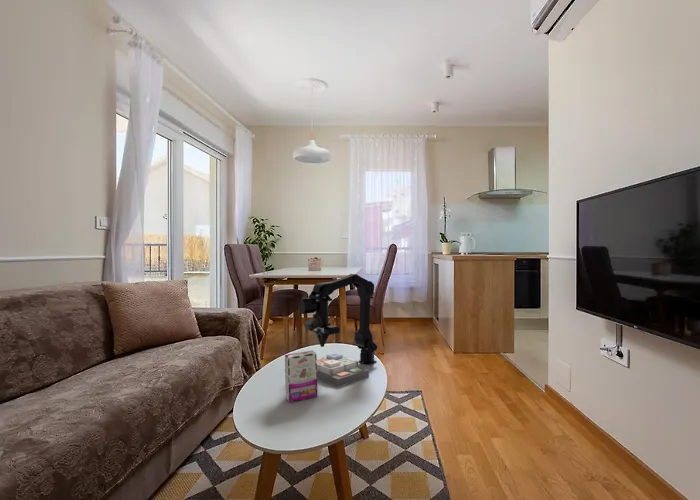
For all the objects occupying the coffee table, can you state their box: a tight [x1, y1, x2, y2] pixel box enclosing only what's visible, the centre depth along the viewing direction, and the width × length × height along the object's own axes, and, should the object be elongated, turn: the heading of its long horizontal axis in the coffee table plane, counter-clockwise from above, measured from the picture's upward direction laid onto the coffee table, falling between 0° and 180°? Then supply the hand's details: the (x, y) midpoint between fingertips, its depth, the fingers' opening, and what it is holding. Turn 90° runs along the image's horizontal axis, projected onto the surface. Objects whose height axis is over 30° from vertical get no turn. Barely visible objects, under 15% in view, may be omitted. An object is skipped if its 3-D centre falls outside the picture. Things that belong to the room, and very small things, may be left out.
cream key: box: [324, 359, 341, 368], centre depth 158 cm, size 5×5×2 cm
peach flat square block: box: [317, 359, 328, 364], centre depth 163 cm, size 5×5×2 cm
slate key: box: [326, 352, 344, 360], centre depth 168 cm, size 5×5×2 cm
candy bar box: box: [284, 350, 318, 403], centre depth 137 cm, size 11×5×16 cm, turn 117°
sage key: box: [339, 359, 353, 364], centre depth 163 cm, size 5×5×2 cm
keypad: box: [317, 356, 370, 387], centre depth 161 cm, size 17×22×6 cm
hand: (322, 346), depth 164 cm, fingers closed
